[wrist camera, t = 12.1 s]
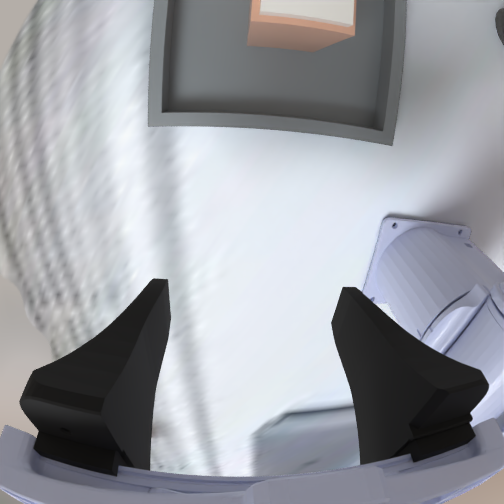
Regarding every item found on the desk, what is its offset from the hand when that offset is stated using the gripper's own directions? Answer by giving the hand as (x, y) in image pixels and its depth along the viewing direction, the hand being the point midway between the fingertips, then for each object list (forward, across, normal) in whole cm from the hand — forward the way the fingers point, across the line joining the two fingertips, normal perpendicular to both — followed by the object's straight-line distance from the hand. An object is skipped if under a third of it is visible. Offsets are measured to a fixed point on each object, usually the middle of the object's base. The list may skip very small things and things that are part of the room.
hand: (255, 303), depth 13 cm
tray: (+10, -1, -13) cm, 17 cm away
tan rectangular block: (+10, -1, -13) cm, 16 cm away
